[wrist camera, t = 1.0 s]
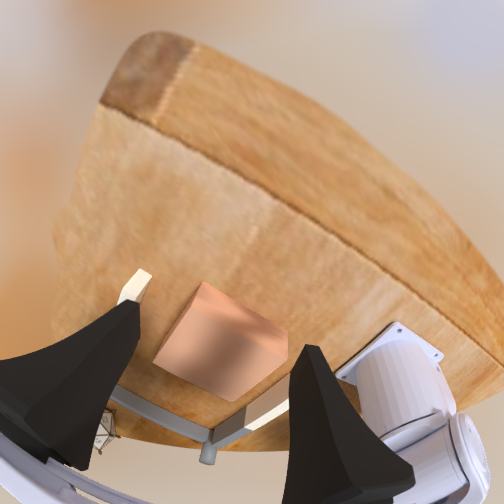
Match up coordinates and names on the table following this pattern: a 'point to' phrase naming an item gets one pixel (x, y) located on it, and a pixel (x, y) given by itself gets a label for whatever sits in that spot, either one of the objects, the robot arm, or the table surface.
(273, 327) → the sliding block
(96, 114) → the table surface
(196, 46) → the table surface
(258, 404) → the lane walls
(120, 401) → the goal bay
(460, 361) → the table surface
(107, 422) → the game die
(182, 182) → the table surface
